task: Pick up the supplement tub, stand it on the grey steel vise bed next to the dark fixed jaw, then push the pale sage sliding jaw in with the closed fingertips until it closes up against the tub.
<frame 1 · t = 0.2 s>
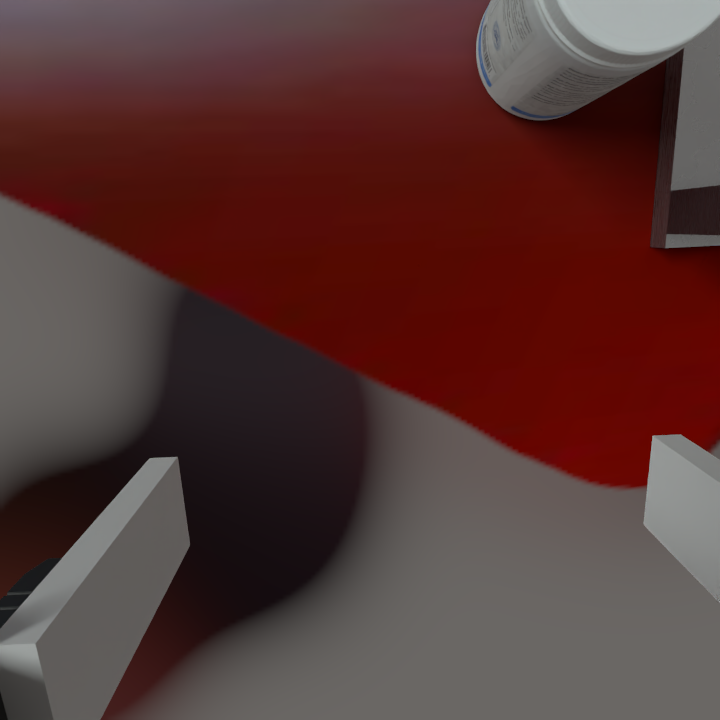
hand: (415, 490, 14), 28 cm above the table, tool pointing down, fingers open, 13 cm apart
supplement tub: (538, 50, 37), on the table
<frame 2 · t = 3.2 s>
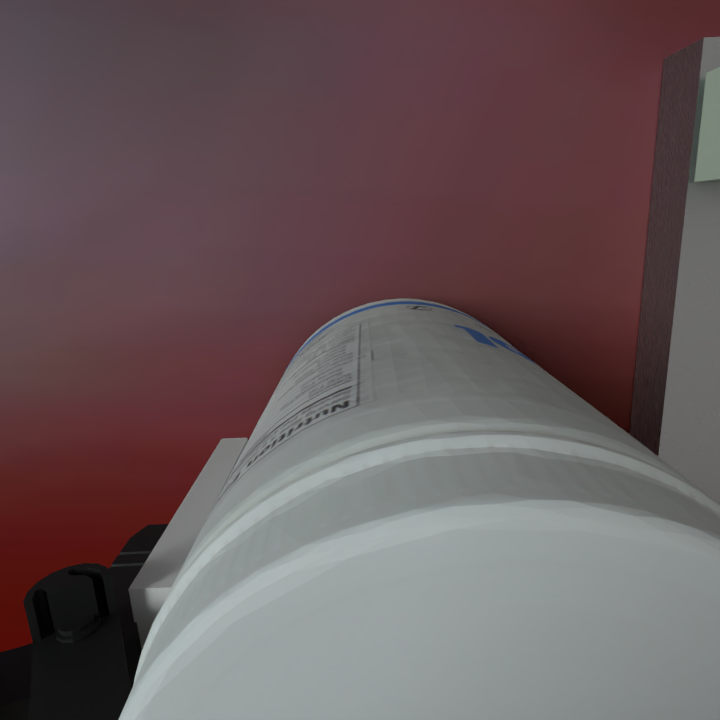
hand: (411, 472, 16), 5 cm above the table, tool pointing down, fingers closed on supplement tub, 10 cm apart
supplement tub: (397, 414, 20), on the table, touching gripper
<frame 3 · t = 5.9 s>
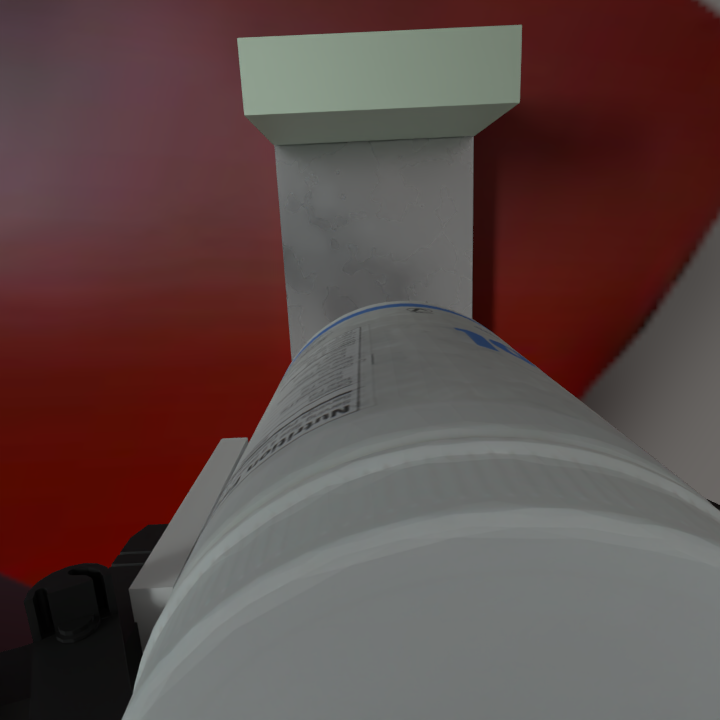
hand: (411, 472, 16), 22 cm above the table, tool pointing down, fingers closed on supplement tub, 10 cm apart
supplement tub: (397, 416, 20), point 17 cm above the table, touching gripper
sliding jaw: (376, 95, 27), point 7 cm above the table, slide at 0.0 cm
vise: (378, 287, 36), on the table
when the fingers open (8 cm above the table, at t = 8.5 s): supplement tub stays where it is, resting on vise.
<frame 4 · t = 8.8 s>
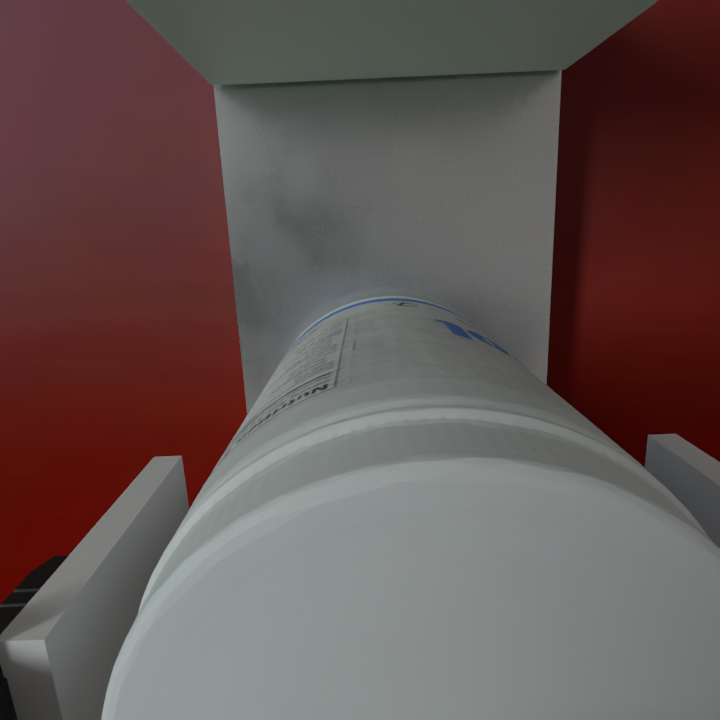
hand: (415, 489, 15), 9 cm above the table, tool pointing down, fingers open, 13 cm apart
supplement tub: (387, 407, 21), point 2 cm above the table, touching vise
vise: (391, 326, 22), on the table
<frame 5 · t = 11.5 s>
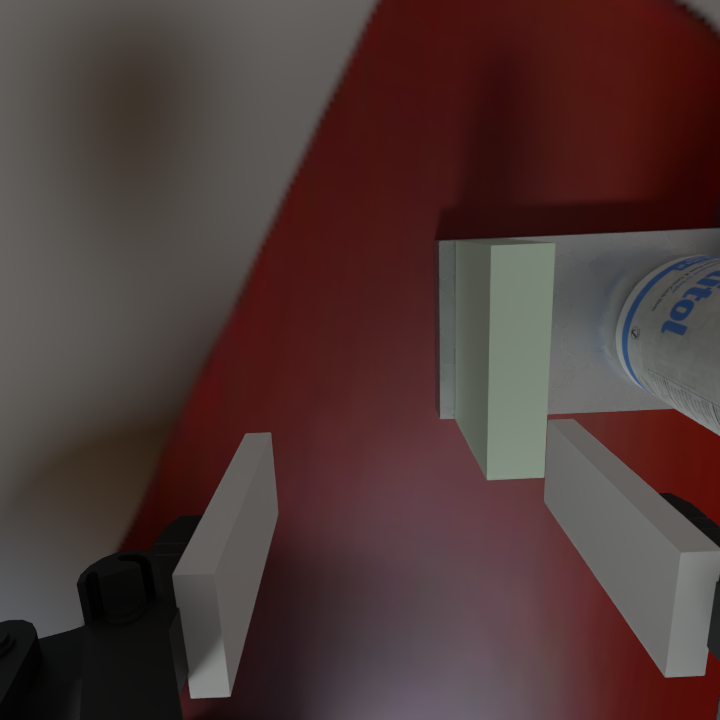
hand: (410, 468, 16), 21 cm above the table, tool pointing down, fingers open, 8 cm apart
supplement tub: (678, 327, 35), point 2 cm above the table, touching vise
sliding jaw: (495, 348, 30), point 7 cm above the table, slide at 0.0 cm
vise: (620, 319, 36), on the table
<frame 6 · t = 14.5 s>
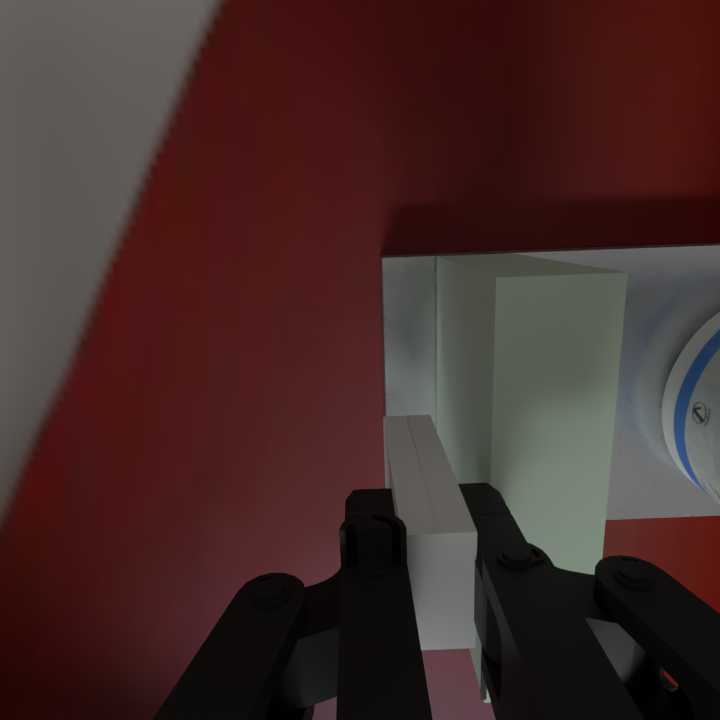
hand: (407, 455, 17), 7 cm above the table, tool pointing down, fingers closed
sliding jaw: (501, 443, 18), point 7 cm above the table, slide at 1.1 cm, touching gripper
vise: (665, 377, 24), on the table
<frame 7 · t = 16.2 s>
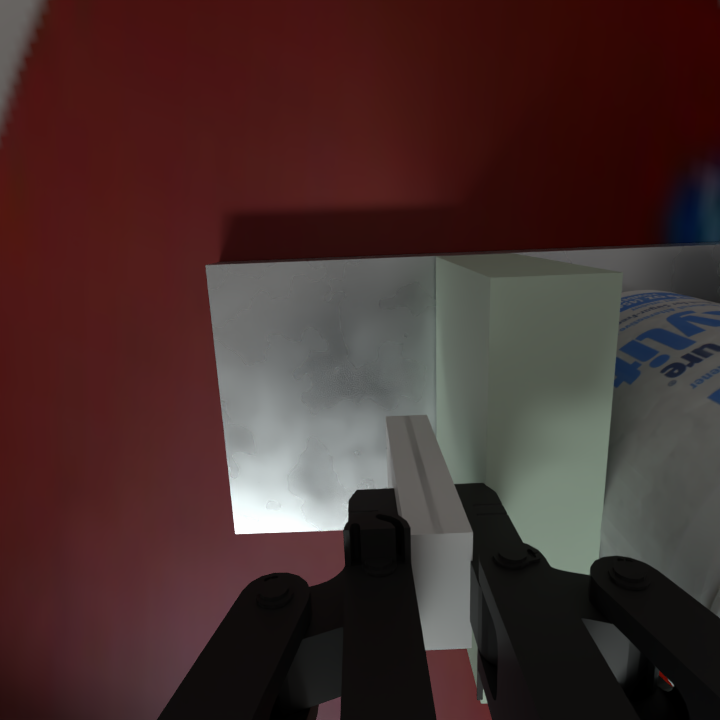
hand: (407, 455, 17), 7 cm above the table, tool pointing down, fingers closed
supplement tub: (615, 400, 22), point 2 cm above the table, touching sliding jaw, vise
sliding jaw: (499, 443, 18), point 7 cm above the table, slide at 8.1 cm, touching gripper, supplement tub
vise: (514, 383, 24), on the table
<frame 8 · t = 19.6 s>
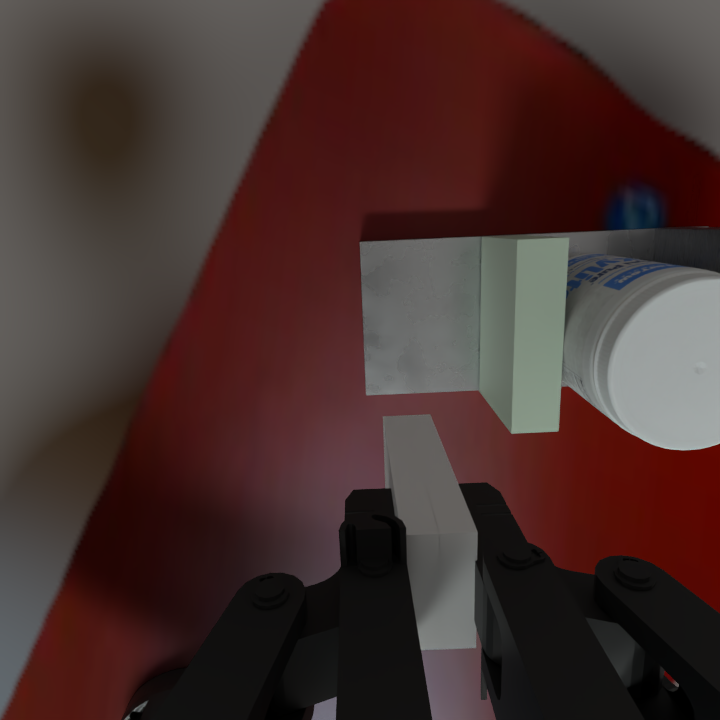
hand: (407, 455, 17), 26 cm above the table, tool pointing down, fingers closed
supplement tub: (578, 315, 41), point 2 cm above the table, touching vise
sliding jaw: (517, 326, 36), point 7 cm above the table, slide at 8.0 cm
vise: (522, 309, 42), on the table
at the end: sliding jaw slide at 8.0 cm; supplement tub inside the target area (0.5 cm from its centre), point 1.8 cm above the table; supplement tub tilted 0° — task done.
